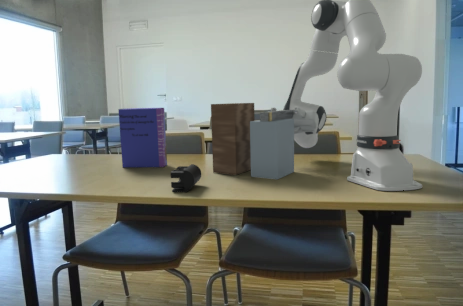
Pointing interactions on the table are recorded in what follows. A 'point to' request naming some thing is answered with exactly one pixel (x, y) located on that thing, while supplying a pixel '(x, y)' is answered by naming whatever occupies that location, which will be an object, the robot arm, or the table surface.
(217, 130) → the tall walnut stand
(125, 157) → the blue book
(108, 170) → the table surface
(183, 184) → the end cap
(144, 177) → the table surface
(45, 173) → the table surface
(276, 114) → the grey yellow-banded bar
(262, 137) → the blue-grey rectangular block
